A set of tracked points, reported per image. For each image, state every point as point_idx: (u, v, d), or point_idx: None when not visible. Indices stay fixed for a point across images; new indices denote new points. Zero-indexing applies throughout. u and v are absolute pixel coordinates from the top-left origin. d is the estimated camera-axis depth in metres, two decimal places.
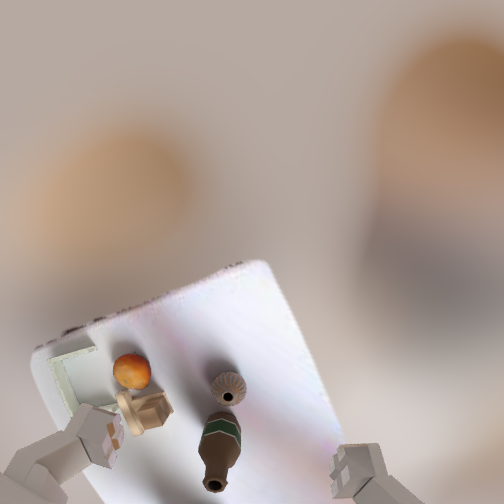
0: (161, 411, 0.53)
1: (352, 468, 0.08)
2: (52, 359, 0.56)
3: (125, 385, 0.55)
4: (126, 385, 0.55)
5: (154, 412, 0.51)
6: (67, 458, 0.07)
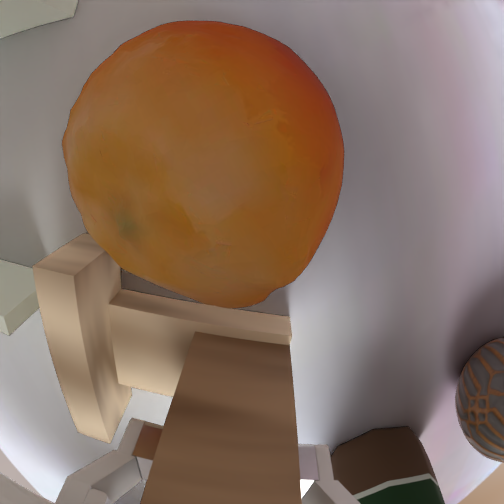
0: None
1: None
2: None
3: (109, 245, 0.07)
4: (116, 249, 0.07)
5: None
6: (121, 478, 0.07)
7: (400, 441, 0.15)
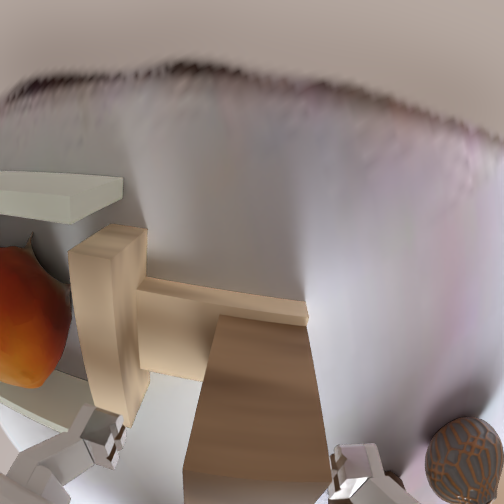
0: None
1: (349, 468, 0.08)
2: None
3: None
4: None
5: (310, 494, 0.07)
6: (70, 459, 0.07)
7: None
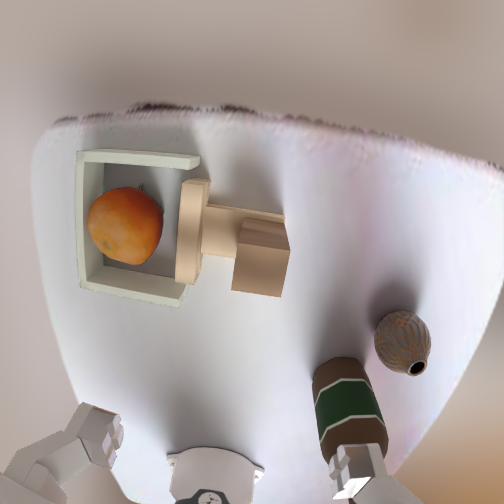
0: None
1: (352, 468, 0.08)
2: (88, 154, 0.26)
3: (104, 251, 0.29)
4: (106, 252, 0.29)
5: (283, 261, 0.24)
6: (67, 458, 0.07)
7: (349, 363, 0.37)
